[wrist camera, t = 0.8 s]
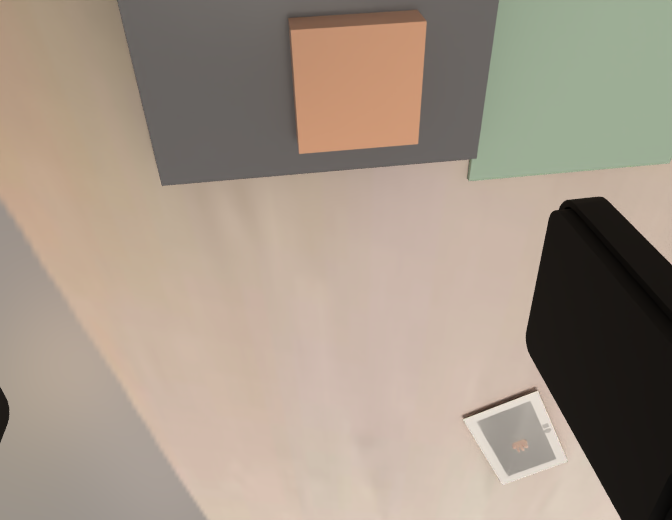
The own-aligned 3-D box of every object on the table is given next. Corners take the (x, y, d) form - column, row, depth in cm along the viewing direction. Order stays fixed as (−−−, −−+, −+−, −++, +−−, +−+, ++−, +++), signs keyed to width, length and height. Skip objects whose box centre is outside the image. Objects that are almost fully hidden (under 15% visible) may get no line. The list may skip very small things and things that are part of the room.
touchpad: (499, 476, 70) (505, 493, 68) (459, 410, 60) (466, 428, 59) (563, 453, 68) (572, 470, 66) (533, 382, 59) (542, 399, 57)
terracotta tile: (288, 17, 32) (290, 30, 30) (417, 9, 32) (426, 21, 31) (296, 137, 36) (299, 153, 34) (410, 128, 37) (418, 144, 35)
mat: (507, -121, 31) (509, -120, 31) (774, -133, 32) (779, -132, 32) (467, 178, 42) (468, 181, 42) (666, 160, 44) (669, 163, 43)
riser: (119, -36, 31) (111, -24, 29) (489, -57, 33) (505, -46, 31) (165, 165, 39) (161, 185, 37) (465, 140, 40) (476, 158, 38)
